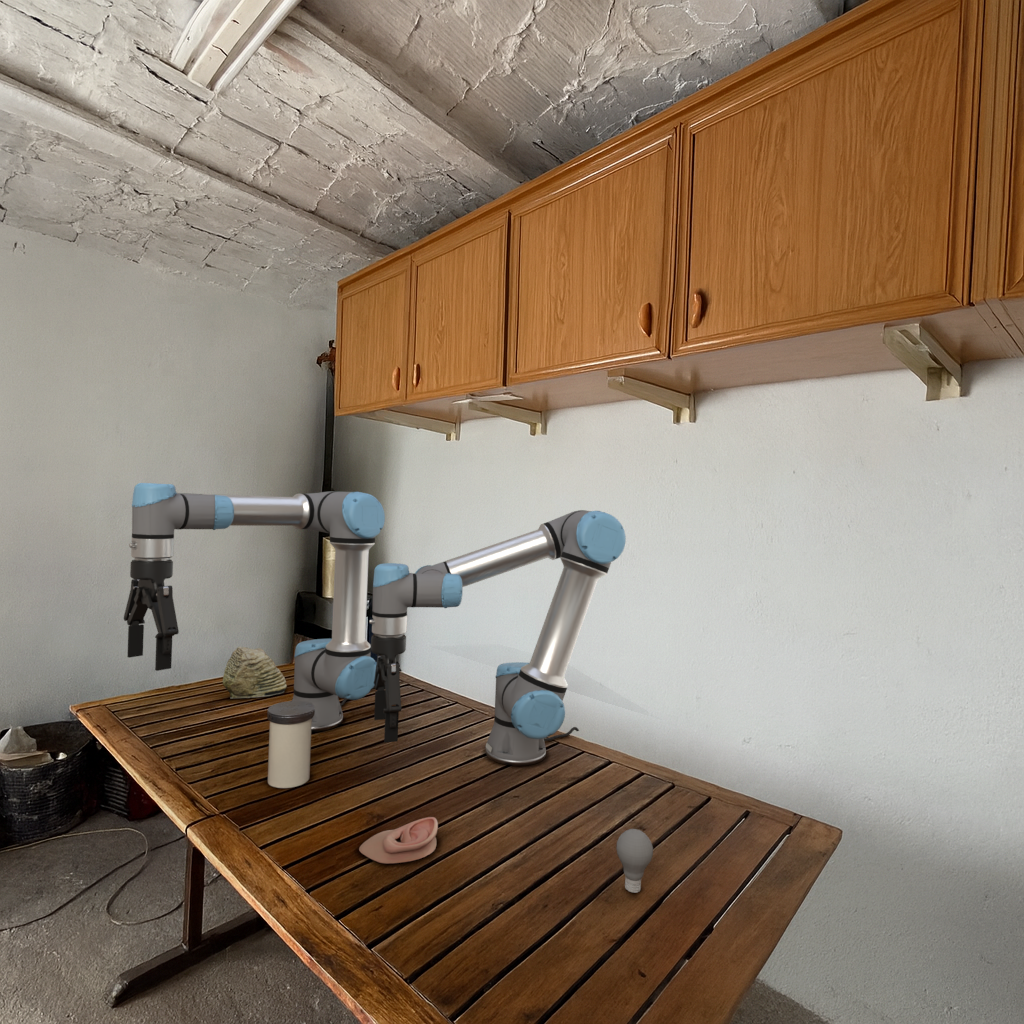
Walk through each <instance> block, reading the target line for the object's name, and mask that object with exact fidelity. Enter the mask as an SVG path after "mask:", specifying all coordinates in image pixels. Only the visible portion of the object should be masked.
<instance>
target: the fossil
mask: <svg viewBox="0 0 1024 1024" xmlns="http://www.w3.org/2000/svg"><path fill="white" fill-rule="evenodd" d="M222 676H223V677H222V685H223V687H224V688H225V690H226V691H228V693H229V698H230V699H250V698H264V697H271V696H275V695H281V694H284V693H285V691H286V689H287V687H288V686H287V680H286V678H285V676H284V674H283V673H282V672H281V669H279V668H278V667H277V665H276V663H275V662H274V660H273V659H272V658H271V657H270V656H269V655H268V654H267V653H266V652H265V650H264V649H263V648H260V647H258V648H251V647H247V646H246V647H245V646H238V647H237V648H236V649H235V650H233V651H232V653H231V656H230V657H229V659H228V660H227V663H226V666H225V668H224V671H223V675H222Z"/></svg>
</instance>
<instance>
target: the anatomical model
mask: <svg viewBox="0 0 1024 1024" xmlns="http://www.w3.org/2000/svg"><path fill="white" fill-rule="evenodd" d="M438 830H439V822H438V819H437V818H436V817H434V816H428V817H423V818H419V819H417V820H414V821H410V822H409V823H407V824H404V825H401V826H398V827H397V828H395V829H388V830H383V831H381V832H378V833H376V834H374V835H372V836H371V837H369V838H368V839H366V840H365V841H364V842H363V843H362V844H361V845H360V846H359V848H358V850H359V852H360V853H361V854H362V855H364V857H366V858H368V859H369V860H372V861H374V862H377V863H380V864H399V863H400V864H401V863H409V862H413V861H417V860H420V859H422V858H426V857H427V856H429V855H431V854H432V853H433V852H435V850H436V847H437V837H436V836H437V834H438Z"/></svg>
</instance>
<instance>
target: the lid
mask: <svg viewBox="0 0 1024 1024" xmlns="http://www.w3.org/2000/svg"><path fill="white" fill-rule="evenodd" d="M266 714H267V716H266V717H267V718H266V719H267V720H268V721H269V723H270V722H273V723H277V724H296V723H302V722H305V721H308V720H310V719H312V718H313V717H314V714H315V708H314V705H313V704H311V703H309V702H304V701H292V700H288V701H281V702H278V703H274V704H272V705H270V706H269V707H268V708H267V713H266Z"/></svg>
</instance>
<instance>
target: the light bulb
mask: <svg viewBox="0 0 1024 1024" xmlns="http://www.w3.org/2000/svg"><path fill="white" fill-rule="evenodd" d="M615 849H616V854H617V857H618V859H619V861H620V863H621V865H622V867H623V873H624V874H623V875H624V876H625V878H624V888H625V890H627V891H628V892H630V893H634V894H635V893H639V892H640V891H641V889H642V887H641V886H642V879H643V877H644V875H645V871H646V868H647V867H648V866H649V864H650V863H651V861H652V859H653V855H654V847H653V843H652V841H651V838H649V836H648V835H647V834H646V833H645V832H643V831H642V830H641V829H636V828H629V829H627V830H625V831H623V832H622V833H621V834H620V835H619V837H618V839H617V841H616V847H615Z"/></svg>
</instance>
